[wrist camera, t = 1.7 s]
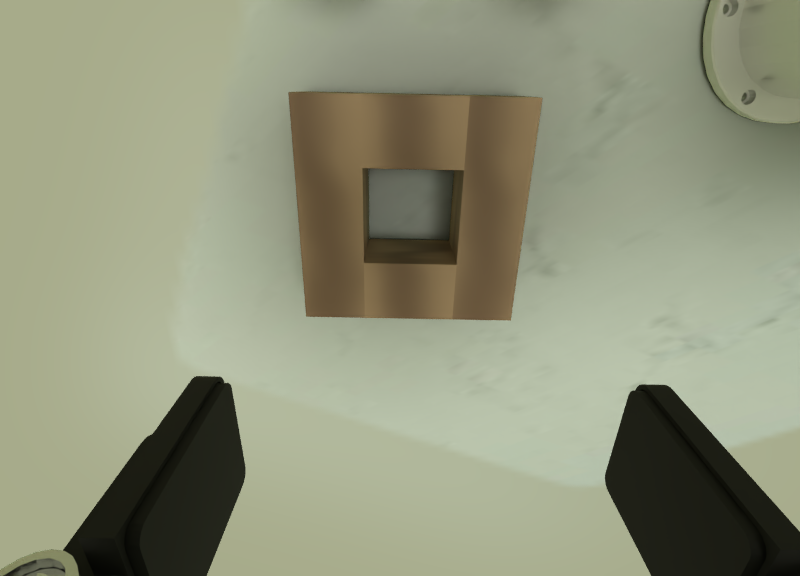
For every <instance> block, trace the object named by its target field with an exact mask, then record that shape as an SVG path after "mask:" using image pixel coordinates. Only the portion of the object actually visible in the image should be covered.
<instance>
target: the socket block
mask: <svg viewBox="0 0 800 576" xmlns="http://www.w3.org/2000/svg"><path fill="white" fill-rule="evenodd" d="M289 104H290V117H291V130H292V142H293V155H294V168H295V180H296V193H297V205H298V218H299V231H300V243H301V256H302V269H303V281H304V294H305V307H306V316H308V317H360V318H413V319H465V320H511V314H512V307H513V300H514V293H515V286H516V279H517V272H518V265H519V258H520V251H521V244H522V237H523V230H524V223H525V216H526V209H527V202H528V195H529V188H530V181H531V174H532V167H533V160H534V153H535V146H536V139H537V132H538V125H539V118H540V111H541V104H542V98H538V97H525V96H491V95H445V94H399V93H353V92H307V91H306V92H289ZM368 168H379V169H427V170H454V176H453V191H452V205H451V219H450V234H449V240H407V239H369V176H368Z"/></svg>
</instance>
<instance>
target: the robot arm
mask: <svg viewBox="0 0 800 576" xmlns="http://www.w3.org/2000/svg"><path fill="white" fill-rule="evenodd" d="M723 7H724V12H723ZM703 59H704V63H705V68H706V72H707V76H708V79H709V81H710V83H711V85H712V87H713V89H714V91H715V93H716V94H717V96H718V97H719V98H720V99H721V100H722V101H723V103H724V104H725V105H726V106H727V107H729V108H730V109H732V110H733V111H734V112H736V113H737V114H739V115H741V116H743V117H746V118H749V119H751V120H754V121H761V122H768V123H788V124H791V123H797V122H800V0H711V1H710V5H709V8H708V11H707V14H706V20H705V27H704V33H703ZM244 478H245V463H244V457H243V451H242V445H241V439H240V434H239V428H238V423H237V417H236V411H235V405H234V399H233V394H232V388H231V385H230V384H229V383H224V380H223V379H222V377H208V376H196V377H194V378H193V379H192V380H191V382H190V383H189V384H188V386H187V387H186V388H185V390H184V391H183V393H182V394H181V395H180V397H179V398H178V400H177V401H176V402H175V404H174V405H173V407H172V408H171V409H170V411H169V412H168V414H167V415H166V416H165V418H164V419H163V420H162V422H161V423H160V425H159V426H158V427H157V429H156V430H155V432H154V433H153V434H152V435H150V436H148V437H147V438H146V439H145V440H144V441H143V442H142V443H141V444H140V446H139V447H138V449H137V450H136V451H135V453H134V454H133V455H132V457H131V458H130V459H129V461H128V462H127V464H126V465H125V466H124V468H123V469H122V470H121V472H120V473H119V475H118V476H117V477H116V478H115V480H114V481H113V483H112V484H111V485H110V487H109V488H108V490H107V491H106V492H105V494H104V495H103V496H102V498H101V499H100V500H99V502H98V503H97V504H96V506H95V507H94V509H93V510H92V511H91V513H90V514H89V515H88V517H87V518H86V519H85V521H84V522H83V524H82V525H81V526H80V528H79V529H78V530H77V532H76V533H75V535H74V536H73V537H72V539H71V540H70V542H69V543H68V544H67V546H66V547H65V548H64V550H63V551H61V550H52V549H51V550H45V551H40V552H35V553H33V554H30V555H28V556H25V557H22V558H20V559H18V560H16V561H15V562H13V563H11V564H9V565H8V566H6V567H4V568H2V569H1V570H0V576H207V573H208V571H209V568H210V566H211V563H212V561H213V558H214V556H215V553H216V551H217V548H218V546H219V543H220V541H221V538H222V536H223V533H224V531H225V528H226V526H227V523H228V521H229V518H230V516H231V513H232V511H233V508H234V506H235V503H236V501H237V498H238V496H239V493H240V491H241V488H242V486H243V483H244ZM605 482H606V486H607V489H608V492H609V494H610V495H611V498H612V500H613V502H614V503H615V505H616V507H617V509H618V511H619V513H620V515H621V517H622V519H623V521H624V523H625V525H626V527H627V529H628V531H629V533H630V535H631V537H632V539H633V541H634V542H635V544H636V547H637V548H638V550H639V552H640V554H641V556H642V558H643V560H644V562H645V564H646V566H647V568H648V570H649V572H650V574H651V576H800V532H799V531H798V529H797V528H796V527H795V526H794V525H793V524H792V523H791V522H790V521H789V519H788V518H787V517H786V516H785V515H784V514H783V513H782V512H781V510H780V509H779V508H778V507H777V506H776V505H775V504H774V503H773V502H772V500H771V499H770V498H769V497H768V496H767V495H766V494H765V493H764V491H763V490H762V489H761V488H760V487H759V486H758V485H757V484H756V482H755V481H754V480H753V479H752V478H751V477H750V476H749V475H748V474H747V472H746V471H745V470H744V469H743V468H742V467H741V466H740V465H739V463H738V462H737V461H736V460H735V459H734V458H733V457H732V456H731V455H730V453H729V452H728V451H727V450H726V449H725V448H724V447H723V446H722V444H721V443H720V442H719V441H718V440H717V439H716V438H715V437H714V436H713V434H712V433H711V432H710V431H709V430H708V429H707V428H706V427H705V425H704V424H703V423H702V422H701V421H700V420H699V419H698V418H697V417H696V415H695V414H694V413H693V412H692V411H691V410H690V409H689V408H688V406H687V405H686V404H685V403H684V402H683V401H682V400H681V399H680V398H679V396H678V395H677V394H676V393H675V392H674V391H673V390H672V389H671V388H670V387H669V386H666V385H639V386H638V387H637V388H636V390H635V391H631V392H630V394H629V396H628V399H627V403H626V406H625V409H624V413H623V416H622V420H621V423H620V426H619V430H618V433H617V436H616V440H615V443H614V447H613V450H612V453H611V457H610V460H609V464H608V467H607V470H606V474H605Z"/></svg>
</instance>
